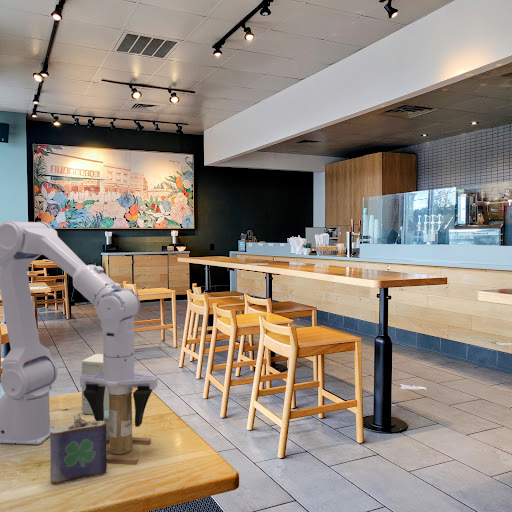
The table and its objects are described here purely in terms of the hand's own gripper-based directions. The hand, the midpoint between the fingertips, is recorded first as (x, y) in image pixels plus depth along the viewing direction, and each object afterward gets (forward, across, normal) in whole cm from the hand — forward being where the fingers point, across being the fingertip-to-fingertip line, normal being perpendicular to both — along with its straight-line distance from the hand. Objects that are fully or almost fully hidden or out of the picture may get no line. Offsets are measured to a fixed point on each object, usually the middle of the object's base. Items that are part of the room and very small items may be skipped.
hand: (119, 423), depth 95 cm
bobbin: (+5, -4, +8) cm, 10 cm away
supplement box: (+6, -11, +21) cm, 25 cm away
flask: (+6, -3, -10) cm, 12 cm away
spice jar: (+6, 0, +1) cm, 6 cm away
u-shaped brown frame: (+5, 0, 0) cm, 5 cm away
